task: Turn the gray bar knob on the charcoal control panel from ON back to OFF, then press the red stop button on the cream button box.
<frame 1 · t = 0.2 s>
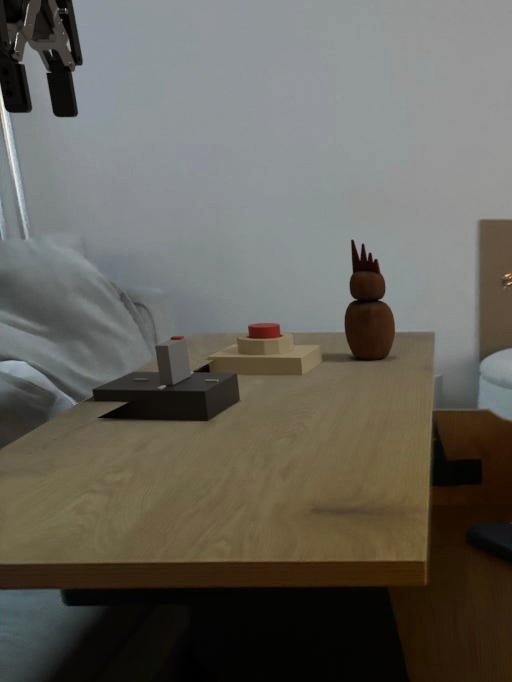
hand: (43, 115, 90), 28 cm above the table, tool pointing down, fingers open, 8 cm apart
gray flat block: (173, 360, 104), point 5 cm above the table, hinge at 90.0°
stop box: (267, 367, 128), on the table
wooden figurine: (371, 359, 134), on the table
panel: (171, 409, 106), on the table
stop button: (264, 332, 126), point 4 cm above the table, slide at 0.1 cm
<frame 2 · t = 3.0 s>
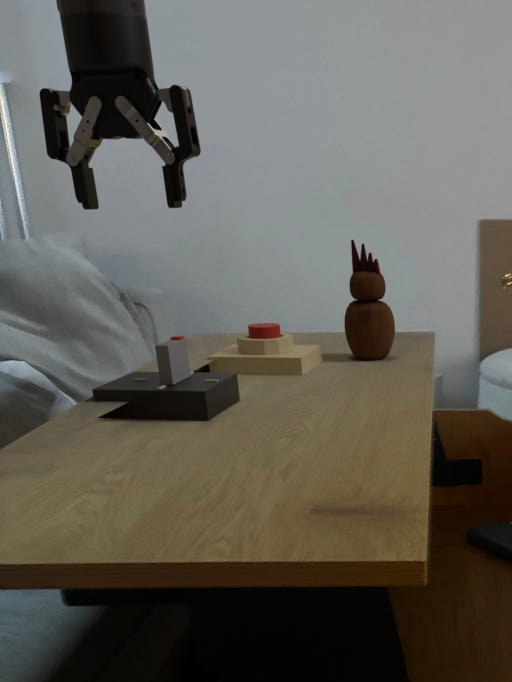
hand: (132, 208, 96), 20 cm above the table, tool pointing down, fingers open, 8 cm apart
nothing on the table moved.
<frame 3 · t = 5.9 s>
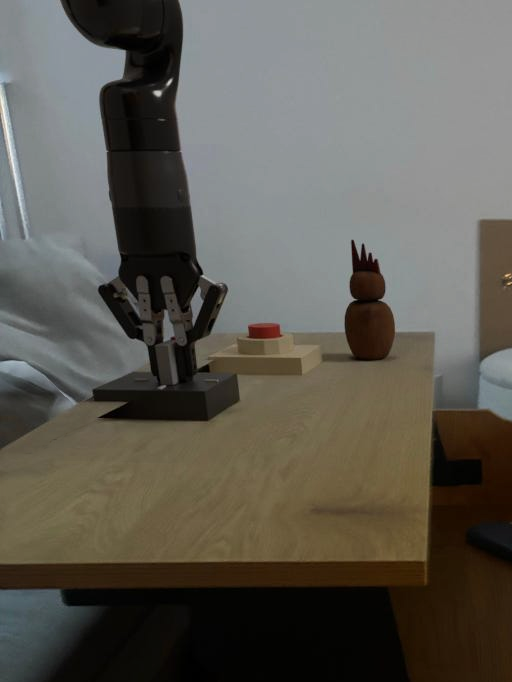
hand: (175, 380, 105), 3 cm above the table, tool pointing down, fingers closed on panel, 2 cm apart
nothing on the table moved.
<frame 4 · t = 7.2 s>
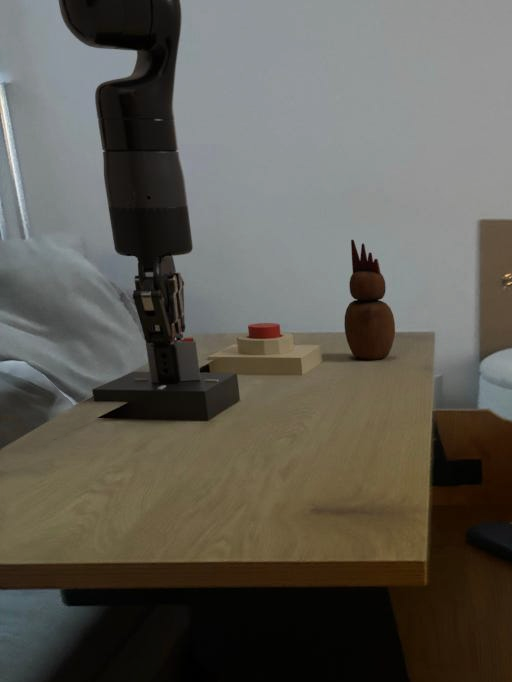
hand: (172, 380, 105), 3 cm above the table, tool pointing down, fingers closed on gray flat block, 2 cm apart
gray flat block: (173, 360, 104), point 5 cm above the table, hinge at 22.0°, touching gripper
everything else where it was.
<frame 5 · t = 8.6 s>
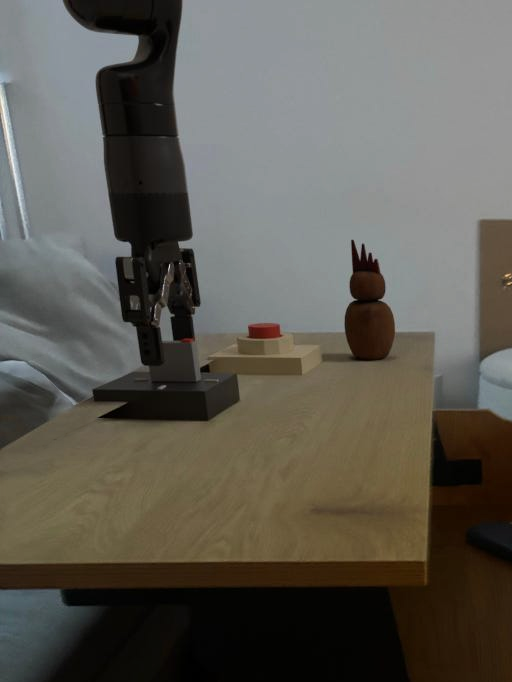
hand: (170, 358, 103), 5 cm above the table, tool pointing down, fingers open, 8 cm apart
gray flat block: (173, 360, 104), point 5 cm above the table, hinge at 0.2°
everything else where it was.
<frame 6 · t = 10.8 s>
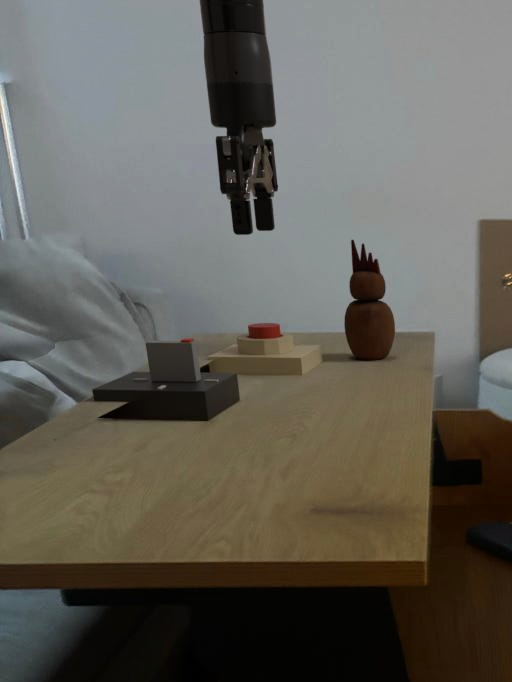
hand: (255, 232, 121), 16 cm above the table, tool pointing down, fingers open, 8 cm apart
nothing on the table moved.
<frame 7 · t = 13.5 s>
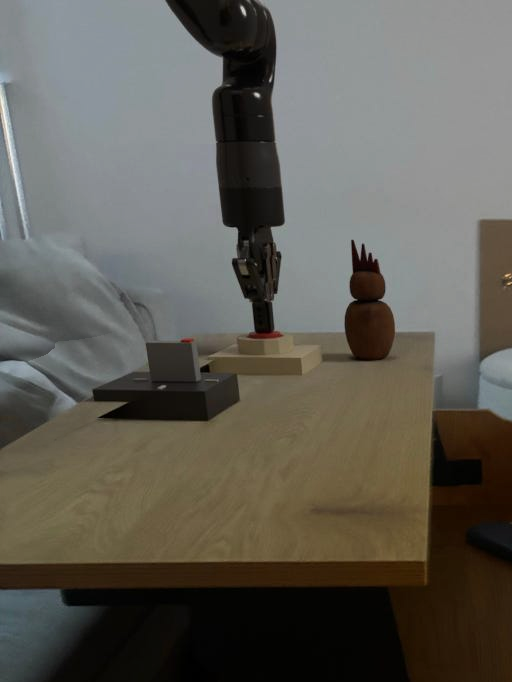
hand: (264, 332, 126), 4 cm above the table, tool pointing down, fingers closed
stop button: (265, 339, 127), point 4 cm above the table, slide at -0.8 cm, touching gripper
everything else where it was.
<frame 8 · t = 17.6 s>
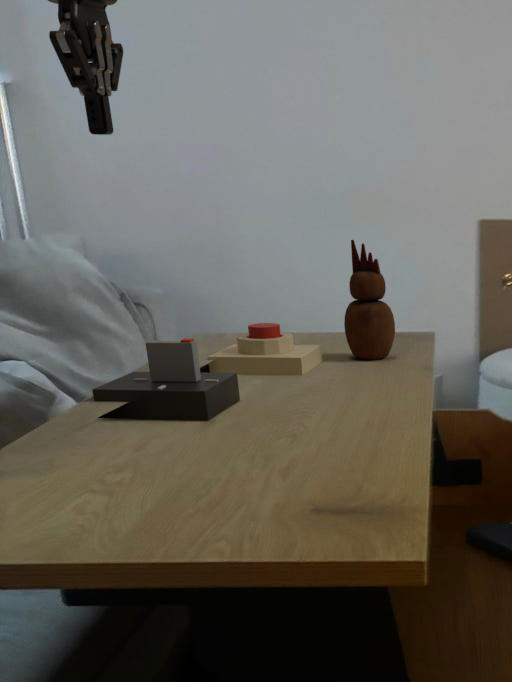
hand: (102, 134, 111), 27 cm above the table, tool pointing down, fingers closed
stop button: (264, 332, 126), point 4 cm above the table, slide at 0.1 cm
everything else where it was.
at the end: gray flat block at +0° (first picture: +90°); stop button pushed in 1.1 cm at the most during the clip, back to where it started at the end; stop button slide at 0.1 cm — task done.
